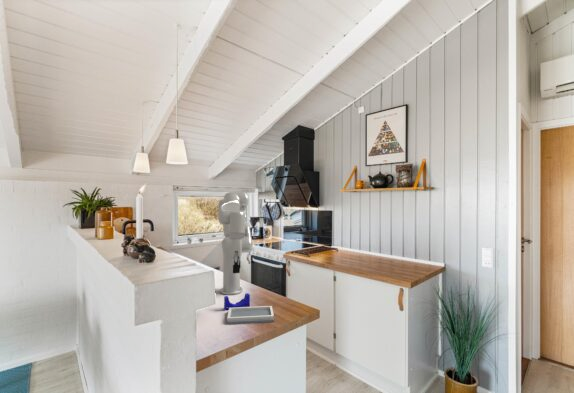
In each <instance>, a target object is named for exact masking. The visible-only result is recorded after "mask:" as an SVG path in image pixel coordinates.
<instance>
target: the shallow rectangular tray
mask: <svg viewBox="0 0 574 393" xmlns="http://www.w3.org/2000/svg"><path fill="white" fill-rule="evenodd" d="M227 312H228V313H227V318H226V325H239V324H240V325H241V324H242V325H243V324H262V323H275V315H274V309H273V305H261V306H260V305H259V306H250V307H234V308H229V310H228V311H227Z"/></svg>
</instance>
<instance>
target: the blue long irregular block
mask: <svg viewBox="0 0 574 393" xmlns="http://www.w3.org/2000/svg"><path fill="white" fill-rule="evenodd" d="M223 298H224V299H223V309H224V310H225V311H229V308H234V307H251V306H250V305H251V304H250V303H251V302H250V301H251V295H250V294H249V293H247V292H246V293H245V295H244V297H243V298H242V299H241V300H239V301H238V302H235V303H232V302H231V301H230V299H229V298H230V297H229V296H228V295H224V296H223Z"/></svg>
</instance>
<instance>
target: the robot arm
mask: <svg viewBox="0 0 574 393" xmlns="http://www.w3.org/2000/svg"><path fill="white" fill-rule="evenodd" d="M217 204H218V205H217V210H218V211H217V217H218V222H219V224H220V225H222V226H223V227H222V228H223V236H224V238H223V239H222V241H221V248H222V254H223V255H222V259H223V260H222V264H223V267H222V268H223V271H222V272H223V274H222V277H223V278H222V288H220V289H219V290H220V293H221V294H223V295H225V296H228V295H229V296H230V295H231V296H233V295H237V294H241V293H242V292H243V288H242V287H241V260H242V256H243V255H242V254H244V253H245V254H246V253H250V252H252V250H253V248H254V247H253V238H252V232H251V227H250V225H249V224H248V223H246V221H247V213H245V212H246V209H247V207H248V204H249V196H248V194H247V193H246V192H245V191H230V192H226V193H225V194H224V196H223V199H220V200H219V202H218V203H217Z"/></svg>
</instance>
